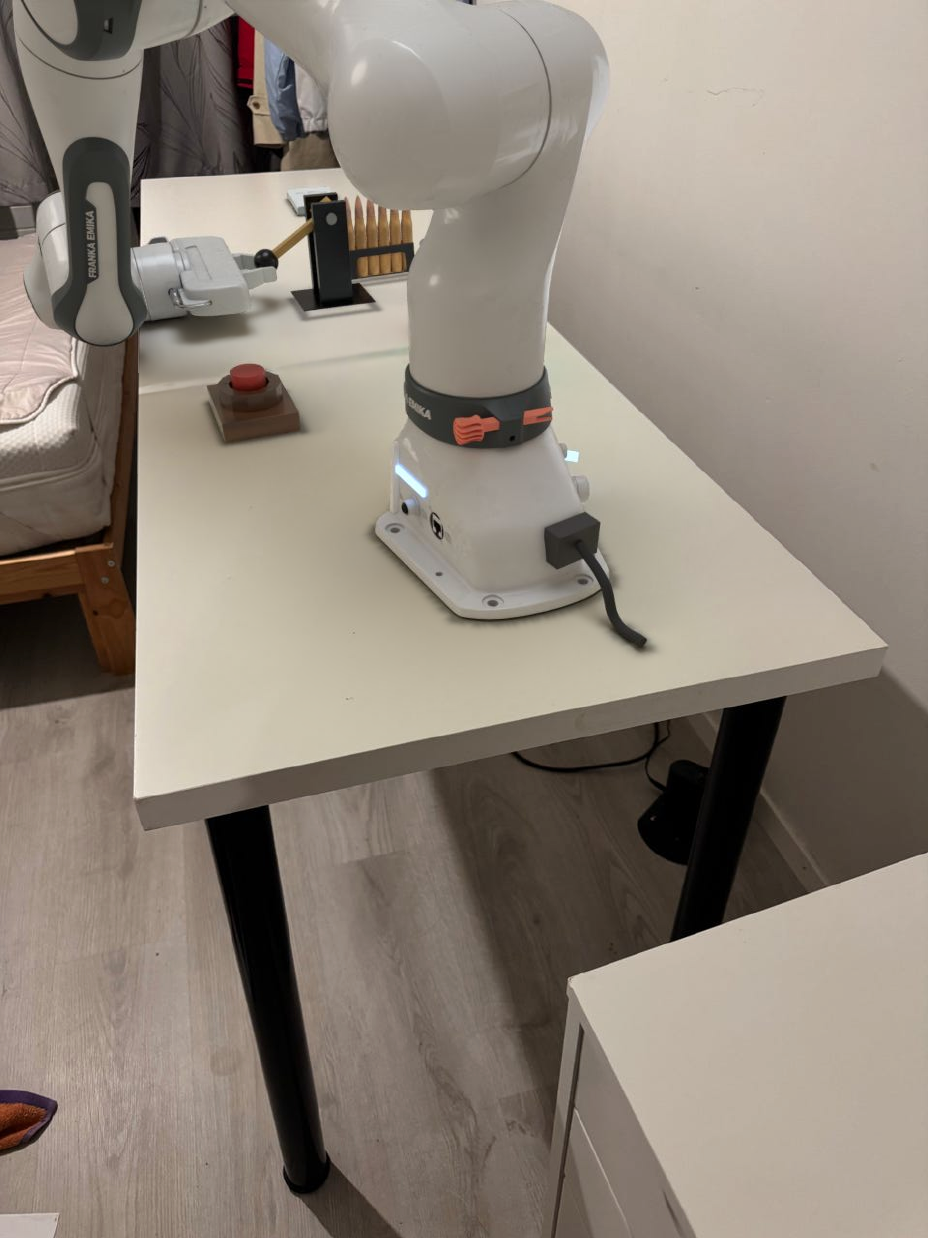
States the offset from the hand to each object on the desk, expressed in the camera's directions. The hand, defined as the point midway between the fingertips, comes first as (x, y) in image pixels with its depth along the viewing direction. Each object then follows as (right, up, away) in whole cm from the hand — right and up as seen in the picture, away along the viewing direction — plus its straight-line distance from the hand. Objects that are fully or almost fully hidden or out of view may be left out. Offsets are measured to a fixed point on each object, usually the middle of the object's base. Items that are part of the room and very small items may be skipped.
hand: (272, 266), depth 118 cm
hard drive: (-2, +29, +45) cm, 53 cm away
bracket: (+7, -3, +6) cm, 10 cm away
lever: (+4, +2, 0) cm, 5 cm away
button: (+2, -22, -23) cm, 32 cm away
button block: (+2, -25, -20) cm, 32 cm away
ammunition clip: (+13, +3, +14) cm, 19 cm away
